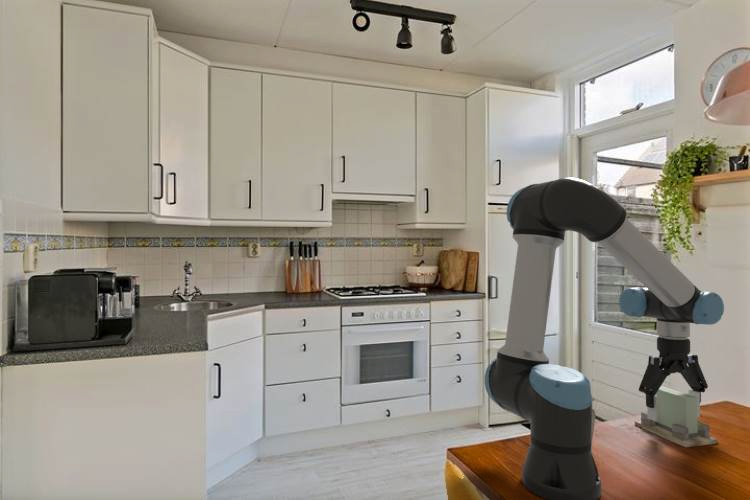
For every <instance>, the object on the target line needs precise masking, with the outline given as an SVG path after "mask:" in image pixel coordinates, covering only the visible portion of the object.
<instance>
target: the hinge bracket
mask: <svg viewBox="0 0 750 500" xmlns="http://www.w3.org/2000/svg"><path fill="white" fill-rule="evenodd" d="M634 426H636V427H638V428H640V427H641V428H640V429H643V430H645V431H648V432H650V433H652V434H654V435H656V436H659V437H661V438H663V439H665V440H668V441H671V442H672V443H675V444H677V445H678V446H679V445H680V446H682V447H684V448H691V447H698V446H699V447H700V446H701V447H702V446H706V445H708V446H709V445H714V444H718V442H719V441H718V439H717V438H716V437H713V436H711V432H710V431H711V427H710V426H711V425H709V424H706V423H703V422H701V421H698V437H691V438H688V428H687V427H684V426H682V425H679V424H672V432H671V431H668V430H666V429H663V428H661V427H659V426H656V425H655V421H653V420H651V419H648V412H647V411H641V412H640V420H635V421H634Z"/></svg>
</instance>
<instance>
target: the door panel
mask: <svg viewBox="0 0 750 500" xmlns="http://www.w3.org/2000/svg"><path fill="white" fill-rule="evenodd" d="M651 391H652V389H651ZM655 395H656V396H658V422H656V421H655V425H656V426H659V427H661V428H663V429H666V430H668V431H671V432H672V424H679V425H682V426H684V427H687V428H688V438H691V437H698V422H699V420H698V418H699V417H697V397H695V396H692V395H689V393H684V392H682V391H679V390H676V389H673V388H669V387H667V386H662V385H661V387H660V388H659V390H658V391H657V393H656V394H655Z"/></svg>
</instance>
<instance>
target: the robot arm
mask: <svg viewBox="0 0 750 500" xmlns="http://www.w3.org/2000/svg"><path fill="white" fill-rule="evenodd" d="M506 218H507V222H509V225H510V227H511V229H512V230H513V231H512V239H513V240H514V241H515V242H516V243H517V250H516V258H515V265H514V272H513V273H514V275H513V281H512V288H511V296H510V303H509V312H508V320H507V327H506V328H507V329H506V334H505V335H506V336H505V341H504V345H502V346H501V347H500V348H498V349H497V353H496V358H494V359H493V360H492V361H491V363H490V364H488V366H487V368H486V370H485V373H484V386H485V387H484V388H485V390H486V393H487V395H488V397H489V398H490V399H491V401H492V402H493V403H495V405H498V407H500V408H501V409H503V410H505V411H506V412H510V413H512V414H514V415H515V416H517V417H520V418H522V419H524V420H526V421H527V422H529V423H530V443H529V447H528V450H527V452H526V455H525V459H524V463H523V465H522V468H521V481H522V484H523V486H524V487H525V488H526V489H527V490H528V491H530V492H531V493H533V494H534V495H537V496H538V497H541V498H543V499H546V500H598V499H599V498H600V497H601V495H602V480H601V477H600V474H599V471H598V467H597V464H596V462H595V458H594V455H593V452H592V446H591V429H592V409H593V395H592V388H591V383H590V380H589V378H588V377H587V376H586V375H585V374H584V373H582V372H581V371H578V370H576V369H575V368H572V367H569V366H568V367H567V366H561V365H559V364H551V363H550V359H549V357H548V356H547V355H546V353H545V351H544V347H545V340H546V332H547V331H546V330H547V322H548V316H549V308H550V298H551V290H552V283H553V275H554V274H553V273H554V266H555V260H556V252H557V251H556V250H557V248H559V247H560V246H561V245H563V244H564V243H565V236H566V231H569V232H575V233H578V234H580V235H582V236H584V237H585V238H586V239H587V240H588V241H589V242H591V243H598V244H599V245H600V246H601V247H602V248H604V249H605V250H606V252H608V253H609V254H610V255H611V256H612V257H613V258H614V259H615V260H616V261H617V262H619V264H621V266H622V267H624V268H625V269H626V270H627V271H628V272H629V273H630V274H631V275H632V276H634V277H635V278H636V279H637V280H638V281H639V282H640V283H641V284H642V287H641V286H634V287H627V288H625V289H624V290H623V291H621V293H620V295H619V298H618V299H619V301H618V302H619V304H618V305H619V308H620V310H621V311H622V313H624V314H625V315H626V316H628V317H632V318H643V317H644V318H645V317H646V318H654V319H656V335H657V337H656V350H657V351H658V352H659V353H658V354H659V355H658V356H653V355H649V356H648V362H647V363H648V364H647V366H646V369H645V371H644V374H643V377H642V379H641V382H640V384H639V387H638V391H639V392H641V393H643V394H645V406H646V407H647V411H646V412H648V419H651V420H653V421H656V422H658V396H656V395H655V394H656V393H657V391H658V390H659V388H660V387H661V386H662V385H663V384H664V382H665V380H666V379H667V377H668V376H670V375H671V374H676V373H677V374H680V375H681V376H682V378H683V379H684V380H685V382H686V383H687V385H688V386H689V387H690V389H688V392H687V394H689V395H692V396H695V397H697V418H701V402H702V393H705V392H706V390H707V389H708V387H709V385H708V382H707V380H706V379H705V376H704V373H703V370H702V368H701V365H700V364H699V356H698V355H697V354H694V353H691V340H690V338H689V337H690V336H691V324H695V325H706V326H707V325H709V326H711V325H716V324H717V323H718V322H719V321H720V320H721V319H722V316H723V315H724V313H725V304H724V301H723V299H722V297H721V296H720V295H719V294H718V293H716V292H712V291H708V290H700V289H699V288H698V287H697V286H696V285H695V284H694V283H693V282H692V281H691V280H690V279H689V278H688V277H687V276H686V275H685V274H683V272H682V271H680V269H679V268H678V267H677V266H675V264H674V263H673V262H672V261H671V260H670V259H668V257H667V256H665V255H664V254H663V252H661V251H660V249H658V247H656V246H655V245H654V243H652V242H651V241H650V240H649V239H648V237H646V235H644V234H643V233H642V232H641V230H639V229H638V228H637V227H636V226H635V225H634V224H633V223H632V222H631V221H630V220H629V219H628V212H627V210H626V209H625V208H624V207H623V206H622V205H621V204H620V203H619V202H618V201H617V200H616V199H614V198H613V197H612V196H611V195H609V193H607V192H605V191H604V190H603V189H601V188H599V187H597V186H596V185H594V184H593V183H591V182H589V181H586V180H583V179H580V178H575V177H563V178H562V177H561V178H559V179H555V180H549V181H545V182H540V183H534V184H533V183H532V184H529V185H527V186H525V187H522V188H519V190H517V191H516V192H515V193H514V194H513V195H512V196H511V197H510V198H509V201H508V203H507V207H506ZM651 389H652V391H651Z"/></svg>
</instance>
